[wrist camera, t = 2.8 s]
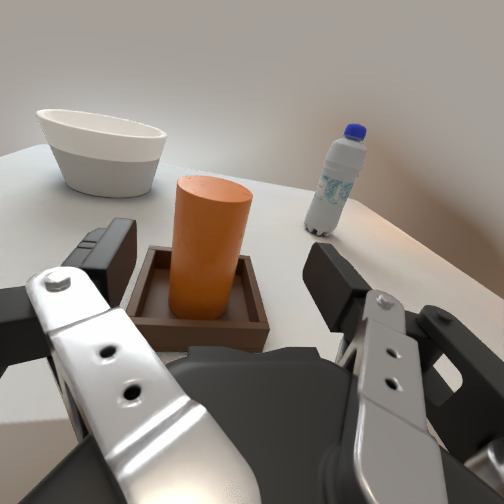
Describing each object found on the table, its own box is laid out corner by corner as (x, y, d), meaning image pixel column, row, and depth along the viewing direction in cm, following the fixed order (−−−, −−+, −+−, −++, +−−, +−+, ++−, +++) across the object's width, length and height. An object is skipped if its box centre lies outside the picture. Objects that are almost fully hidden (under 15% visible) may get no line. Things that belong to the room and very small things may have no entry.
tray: (261, 352, 23) (270, 329, 21) (121, 351, 20) (120, 324, 18) (244, 275, 33) (249, 255, 31) (149, 266, 30) (149, 245, 28)
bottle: (300, 220, 55) (335, 118, 45) (330, 228, 55) (372, 128, 45) (301, 233, 49) (342, 119, 39) (335, 242, 49) (384, 130, 39)
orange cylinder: (217, 330, 23) (244, 209, 17) (156, 311, 24) (162, 185, 18) (233, 291, 28) (258, 188, 23) (183, 276, 29) (194, 171, 23)
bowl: (177, 184, 57) (181, 133, 52) (135, 213, 41) (135, 142, 35) (93, 163, 57) (89, 109, 52) (16, 183, 40) (-2, 107, 35)
